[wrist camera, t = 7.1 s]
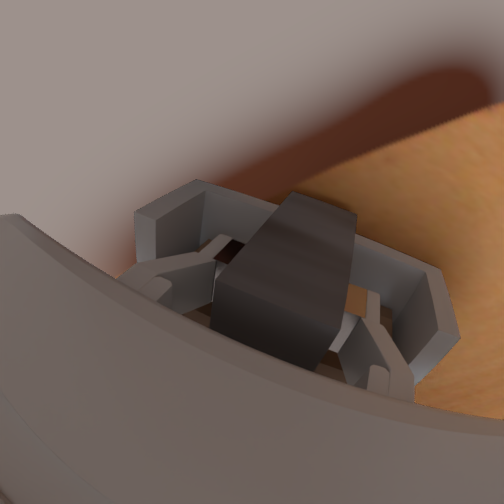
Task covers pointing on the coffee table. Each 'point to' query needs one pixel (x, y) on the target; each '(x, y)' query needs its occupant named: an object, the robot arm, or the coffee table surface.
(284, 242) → the crate
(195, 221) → the bay
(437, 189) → the coffee table surface
